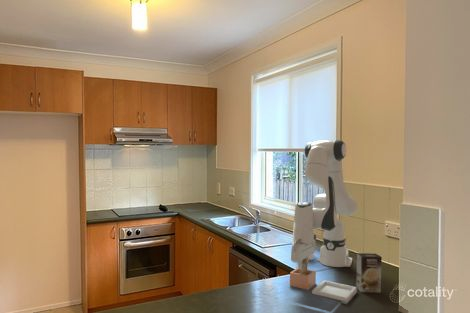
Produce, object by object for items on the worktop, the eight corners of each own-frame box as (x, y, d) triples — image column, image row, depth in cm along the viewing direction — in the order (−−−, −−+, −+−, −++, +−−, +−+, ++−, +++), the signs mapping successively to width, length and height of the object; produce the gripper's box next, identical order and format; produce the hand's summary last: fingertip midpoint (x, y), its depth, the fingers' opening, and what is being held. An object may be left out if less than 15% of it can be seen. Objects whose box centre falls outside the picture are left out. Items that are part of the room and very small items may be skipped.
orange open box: (297, 282, 175) (297, 267, 175) (315, 286, 170) (315, 271, 170) (289, 287, 167) (289, 272, 167) (308, 292, 162) (308, 276, 162)
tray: (324, 285, 170) (324, 280, 170) (356, 292, 162) (356, 287, 162) (312, 295, 158) (312, 290, 158) (346, 304, 150) (346, 298, 150)
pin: (300, 282, 171) (300, 257, 171) (308, 284, 169) (308, 258, 169) (297, 285, 168) (297, 259, 168) (305, 286, 166) (305, 260, 165)
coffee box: (361, 292, 162) (361, 256, 162) (355, 287, 169) (356, 252, 169) (381, 292, 163) (381, 256, 163) (375, 287, 169) (375, 253, 169)
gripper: (300, 243, 158) (300, 274, 158) (317, 234, 175) (317, 263, 175) (287, 240, 161) (287, 272, 161) (305, 232, 178) (305, 260, 178)
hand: (303, 267), depth 168 cm, fingers closed on pin, 4 cm apart
